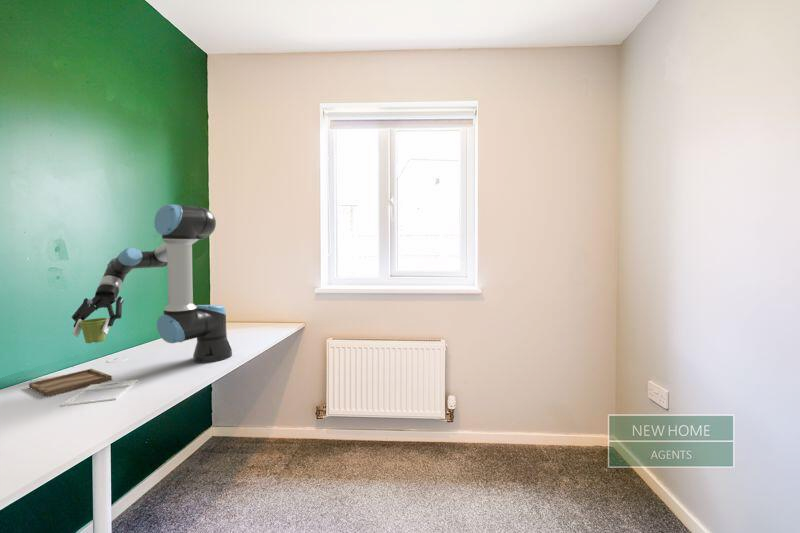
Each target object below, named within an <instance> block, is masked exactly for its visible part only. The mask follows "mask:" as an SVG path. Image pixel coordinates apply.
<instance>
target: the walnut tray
mask: <svg viewBox="0 0 800 533" xmlns="http://www.w3.org/2000/svg"><path fill="white" fill-rule="evenodd" d="M112 379H113V378H112V375H110V374H108V373H105V372H102V371H99V370H96V369H94V368H89V369H84V370H80V371H76V372H72V373H67V374H63V375H60V376H59V375H58V376H55V377H54V376H53V377H50V378H46V379H41V380H38V381H33V382H30V383H28V387H30V388H29V389H31V388H32V389H33V391H34V390H35V392H36V391H37V393H38V392H39V394H40V393H41V394H40V395H42V394H43V395H42V396H44V395H45V396H44V397H46V396H47V397H46V398H49V397H48V396H50V397H53V396H52V395H54V396H56V394H58V395H60V393H61V394H64V392H65V393H68V391H69V392H73V391H77V390H79V389H85V388H87V386H90V385H93V384H98V383H99V384H102V382H103V383H107V382H110V381H112ZM109 380H110V381H109ZM32 389H31V390H32ZM72 390H73V391H72Z"/></svg>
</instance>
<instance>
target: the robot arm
mask: <svg viewBox="0 0 800 533" xmlns="http://www.w3.org/2000/svg"><path fill="white" fill-rule="evenodd" d="M216 226H217V220H216V218H215V216H214V214H213V213H212V212H211V211H210V210H209V209H207V208H205V207H203V206H194V205H192V206H191V205H185V204H184V205H183V204H176V203H175V204H164V205H163V206H160V208H159V209H158V210H157V212H156V213H155V216H154V228H155V229H156V230H155V231H156V232H157V233H158V234H159V235H161V240H162V242H163V241H164V242H163V243H161V244H160V245H159V246H158V247H157V248H155V249H153V250H150V251H149V250H148V251H147V250H146V251H144V250H143V251H141V250H139V249H138V248H134V247H126V248H125V249H123V250H122V251H121V252H119V254H118V255H117V257H114V258H111V260H110V261H109V263H108V264H107V265H106V266H107V267H106V269H105V272H104V273H103V276H102V278H101V279H100V282H99V284H98V287H97V288H96V290H95V293H94V297H92V298H91V299H90V298H89V299H88V298H87V297H86V298H84V299H83V302H82V303H81V305H80V306H79V307H78V308H77V310H76V311H75V312H74V313H73V314H72V316H71V319H72V320H73V321H74V324H73V330H72V335H73V336H74V337H75V338H77V337H79V335H80V333H81V331H82V327H81V326H80V324H79V323H78V322H80V321H83V320H87V319H88V317H90V316H91V315H92V314H93V313H94V312H95V311H98V310H99V309H101V308H104V309H107V312H108V315H109V316H107V317H106V318H107V319H106V321H105V324H104V326H103V329H102V332H103V333H104V334H105V335H108V333H109V331H110V328H111V327H113V325H114V323H115V320H117V319H118V320H119V319H122V313H123V310H122V308H123V304H124V301H125V299H123V298H122V296H118V295H119V293H120V291H121V288H122V285H123V283H124V280H125V278H126V276H127V275H128V274H129V273H130V272H131V271H132V270H134V269H148V268H151V269H152V268H165V267H166V268H167V305H166V306H165V307H164V308H163V314H162V315H160V316H158V318H157V320H156V330H157V332H158V334H159V336H160V337H161V339H162V340H163V341H165V343H169V344H177V343H183V342H185V341H189V340H193V339H196V343H195V344H196V345H195V348H194V351H193V357H192V358H193V362H196V363H211V362H218V361H222V360H223V361H224V360H226V359H229V358H230V357H232V356H233V350H232V347H231V345H230V342H229V340H228V335H227V314H226V308H225V306H224V305H219V304H197V305H196V304H195V303H194V296H193V293H194V291H193V290H194V289H193V287H194V286H193V245H194V244H195V243H197V242H198V241H199V240H201V241H202V240H205V239H207V238H208V237H209V236H211V234H213V232H214V231H215V229H216ZM114 303H115V311H114V310H113V304H114Z"/></svg>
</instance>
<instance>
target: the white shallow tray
mask: <svg viewBox="0 0 800 533" xmlns="http://www.w3.org/2000/svg"><path fill="white" fill-rule="evenodd" d="M136 382H137V383H138V382H139V379H132V380H122V381H112V382H103V383H99V384H93V385H90V386H88V387H84V388H83V389H82V390H81V391H80V392H77V394H74V395H73V396H71V397H70V398H69V399H67V400H65V401H64V402H63V403H61V404H60V407H66V405H68V406H75V405H83V404H84V405H85V404H91V403H92V404H93V403H98V402H99V403H101V402H110V401H116V399H117V400H118V399H119V398H120V397H121V396H122V395H124V394H125V393H126V392H127V391H129V390H130V389H131V388H132V387H133V386H134V385H136V384H135V383H136ZM127 386H128V387H127ZM118 387H119V388H125V389H123V390H122V391H121V392H119V394H117V395H115V396H114V397H110V398H109V397H108V398H107V397H106V398H100V399H99V398H98V399H93V400H92V399H91V400H84V401H83V400H82V401H76V402H72V401H73V400H74V399H76V398H78V397H79V396H80V395H82V394H83V393H85V392H90V391H99V390H109V389H116V388H118ZM129 388H130V389H129ZM68 402H69V403H68Z"/></svg>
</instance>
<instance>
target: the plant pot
mask: <svg viewBox="0 0 800 533" xmlns="http://www.w3.org/2000/svg"><path fill="white" fill-rule="evenodd" d="M106 319H107V317H98V318H97V317H96V318H89V319H85V320H83V321H80V322H78V323H79V324H80V326H81V327H82V329H81V331H82V334H83V339H84V342H85V343H86V344H92V343H101V342H104V341H105V340H106V335H105V334H104V333H103V332H102V329H103V326H104V324H105V321H106Z"/></svg>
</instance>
